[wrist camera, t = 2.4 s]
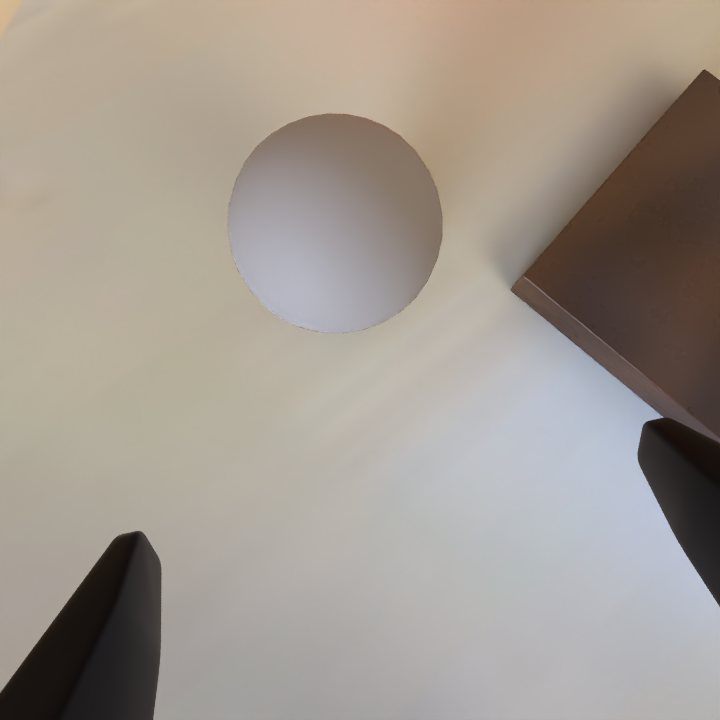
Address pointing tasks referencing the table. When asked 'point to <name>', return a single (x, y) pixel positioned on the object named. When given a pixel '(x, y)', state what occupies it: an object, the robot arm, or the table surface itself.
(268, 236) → the lightbulb
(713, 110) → the walnut board
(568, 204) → the table surface
